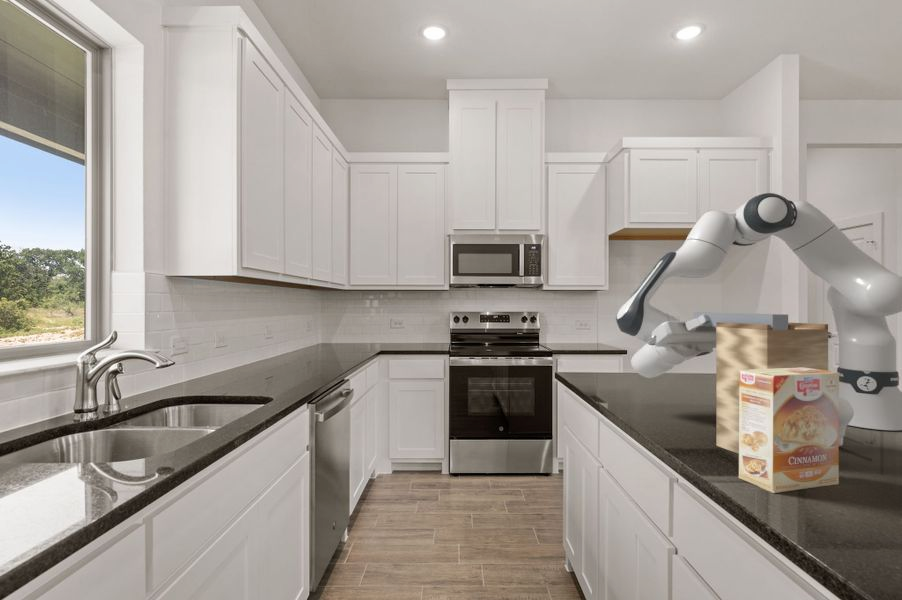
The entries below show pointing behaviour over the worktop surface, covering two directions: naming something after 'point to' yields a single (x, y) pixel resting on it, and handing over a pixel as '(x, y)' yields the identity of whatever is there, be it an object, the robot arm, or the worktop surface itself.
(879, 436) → the worktop surface
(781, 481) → the coffeecake box
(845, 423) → the lightbulb
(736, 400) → the riser block
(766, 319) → the grey rectangular bar
